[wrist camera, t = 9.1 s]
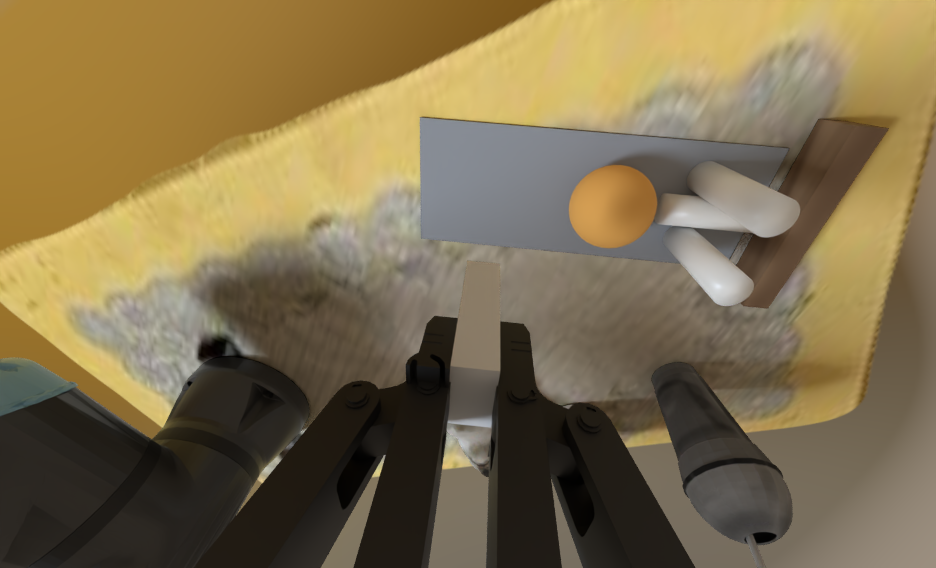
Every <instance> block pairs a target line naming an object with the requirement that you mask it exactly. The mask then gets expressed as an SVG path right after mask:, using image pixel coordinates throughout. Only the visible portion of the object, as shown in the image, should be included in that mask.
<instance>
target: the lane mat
mask: <svg viewBox="0 0 936 568" xmlns="http://www.w3.org/2000/svg"><path fill="white" fill-rule="evenodd" d="M788 150H789V148H781V147H770V146H758V145H746V144H734V143H722V142H710V141H698V140H686V139H674V138H662V137H650V136H638V135H626V134H614V133H602V132H590V131H579V130H567V129H555V128H543V127H531V126H519V125H507V124H495V123H483V122H471V121H459V120H447V119H435V118H423V117H420V172H421V239H432V240H442V241H452V242H463V243H473V244H483V245H494V246H504V247H514V248H525V249H535V250H545V251H556V252H566V253H576V254H587V255H597V256H607V257H618V258H628V259H638V260H649V261H659V262H669V263H680V262H679V261H678V260H677V259H676V258H675V256H674V255H673V254H672V253H671V252H670V251H669V250H668V248H667V247H666V246H665V245H664V243H663V236H664V234H665V232H666V231H667V230H668V229H669V228H670V227H672V225H661V224H657V223H656V222H655V220H653V222H652V224H651V225H650V227H649V228H648V230H647V231H646V232H645V233H644V234H643V235H642V236H641V237H640V238H638V239H637V240H635V241H634V242H632V243H630V244H628V245H625V246H622V247H618V248H601V247H597V246H594V245H591V244H589V243H587V242H586V241H585V240H583V239H582V238H581V237H580V236H579V235H578V234H577V233H576V231H575V230H574V228H573V227H572V224H571V221H570V217H569V203H570V199H571V196H572V193H573V191H574V189H575V187H576V186H577V185H578V183H579V182H580V181H581V180H582V179H583V178H584V177H585V176H586V175H588V174H589V173H591V172H592V171H594V170H596V169H598V168H601V167H604V166H609V165H624V166H629V167H632V168H634V169H636V170H638V171H640V172H641V173H643V174H644V175H645V176H646V177H647V178H648V179H649V180H650V182H651V183H652V185H653V187H654V189H655V192H656V197H657V205H658V202H659V200H660V197H661V195H662V194H664V193H669V194H680V195H691V196H699V195H697V194H696V193H694V192H693V191H691V190H690V189H689V188H688V186H687V177H688V175H689V173H690V171H691V170H692V169H693V168H694V167H695V166H696V165H698V164H700V163H702V162H705V161H713V162H716V163H718V164H720V165H722V166H724V167H727V168H729V169H731V170H733V171H735V172H737V173H739V174H741V175H743V176H746V177H748V178H750V179H752V180H754V181H756V182H758V183H760V184H762V185H765V186H767V187H769V185H770V183H771V182H772V180H773V178H774V176H775V174H776V172H777V171H778V169H779V167H780V165H781V163H782V161H783V160H784V158H785V156H786V154H787V152H788ZM692 228H693V227H692ZM693 229H695V230H696V231H697V232H698V233H699V234H700V235H701V236H703V237H704V238H705V239H706V240H707V241H708V242H709V243H711V244H712V245H713V246H714V247H715V248H716V249H717V250H719V251H720V252H721V253H722V254H723V255H724V256H725V257H727V258H728V259H730V257H731V255H732V253H733V252H734V250H735V248H736V246H737V244H738V242H739V241H740V239H741V237H742V235H743V233H744V232H736V231H725V230H714V229H704V228H693ZM680 264H681V263H680Z"/></svg>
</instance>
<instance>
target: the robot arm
mask: <svg viewBox="0 0 936 568" xmlns="http://www.w3.org/2000/svg"><path fill="white" fill-rule="evenodd" d="M76 386H78V385H77V384H76V383H75V382H68V381H66V380H64V379H63V378H61V377H59V376H58V375H56V374H54V373H53V372H51V371H49V370H48V369H46V368H44V367H43V366H41V365H39V364H38V363H36V362H34V361H31V360H28V359H24V358H4V359H0V568H321V566H322V564H323V563H324V561H325V559H326V557H327V555H328V554H329V552H330V550H331V548H332V546H333V545H334V543H335V541H336V539H337V538H338V536H339V534H340V532H341V530H342V529H343V527H344V525H345V523H346V521H347V520H348V518H349V516H350V514H351V513H352V511H353V509H354V507H355V506H356V504H357V502H358V500H359V498H360V497H361V495H362V493H363V491H364V490H365V488H366V486H367V484H368V482H369V481H370V479H371V477H372V475H373V474H374V472H375V470H376V468H377V466H378V465H379V463H380V461H381V459H382V458H383V455H386V456H385V460H384V463H383V467H382V470H381V474H380V477H379V481H378V484H377V488H376V491H375V495H374V498H373V502H372V506H371V509H370V513H369V516H368V519H367V523H366V526H365V529H364V533H363V537H362V540H361V543H360V547H359V550H358V554H357V558H356V561H355V564H354V568H428V565H429V558H430V550H431V543H432V536H433V529H434V522H435V514H436V507H437V500H438V492H439V486H440V479H441V471H442V464H443V457H444V450H445V443H446V431H447V423H452V424H461V425H471V426H480V427H489V428H491V425H492V430H491V439H490V445H489V451H488V457H489V487H488V489H489V490H488V522H487V558H486V568H562V565H561V557H560V549H559V541H558V532H557V524H556V516H555V508H554V500H553V491H552V483H551V479H552V482H553V484H554V487H555V490H556V493H557V496H558V499H559V501H560V504H561V507H562V509H563V513H564V515H565V518H566V521H567V524H568V527H569V529H570V532H571V535H572V538H573V541H574V543H575V546H576V549H577V552H578V555H579V557H580V560H581V563H582V566H583V568H695V566H694V564H693V563H692V561H691V559H690V558H689V556H688V554H687V552H686V551H685V549H684V547H683V546H682V544H681V542H680V540H679V539H678V537H677V535H676V533H675V531H674V530H673V528H672V526H671V524H670V523H669V521H668V519H667V518H666V516H665V514H664V512H663V511H662V509H661V507H660V505H659V504H658V502H657V500H656V498H655V497H654V495H653V493H652V491H651V490H650V488H649V486H648V485H647V483H646V481H645V479H644V478H643V476H642V474H641V472H640V471H639V469H638V467H637V466H636V464H635V462H634V460H633V458H632V457H631V455H630V453H629V451H628V450H627V448H626V446H625V444H624V443H623V441H622V439H621V438H620V436H619V434H618V432H617V431H616V429H615V427H614V425H613V424H612V422H611V420H610V419H609V418H608V416H607V415H606V414H605V413H604V412H603V411H602V410H600V409H599V408H598V407H596V406H593V405H590V404H587V403H578V404H574V405H572V406H571V407H570V408H569V409H567V408H565V407H562V406H560V405H557V404H555V403H553V402H551V401H549V400H547V399H546V398H545V397H543V395H542V394H541V393H540V392H539V390H538V389H537V387H536V383H535V376H534V367H533V358H532V349H531V341H530V333H529V331H528V330H527V328H526V327H525V326H524V324H519V323H509V322H500V264H497V263H486V262H475V261H467V266H466V273H465V279H464V285H463V291H462V297H461V303H460V309H459V316H458V318H450V317H440V316H434V317H433V318H432V319H431V320H430V321H429V322H428V323H427V326H426V329H425V333H424V336H423V340H422V344H421V347H420V351H419V353H417V354H415V355H413V356H412V357H411V358H409V360H408V361H407V363H406V381H405V382H404V383H402V384H400V385H398V386H395V387H391V388H385V389H379V390H378V388H377V387H376V385H374V384H372V383H371V382H368V381H355V382H351V383H349V384H347V385H345V386H343V387H342V388H341V389H340V390H339V391H338V392H337V393H336V394H335V395H334V397H333V398H332V399H331V400H330V402H329V403H328V404H327V405H326V406H325V408H324V409H323V410H322V411H321V413H320V414H319V415H318V416H317V417H316V419H315V420H314V421H313V422H312V424H311V425H310V426H309V427H308V428H307V430H306V431H305V432H304V433H303V435H302V436H301V437H300V438H299V439H298V441H297V442H296V443H295V444H294V446H293V447H292V448H291V449H290V450H289V452H288V453H287V454H286V455H285V457H284V458H283V459H282V460H281V461H280V463H279V464H278V465H277V466H276V468H275V469H274V470H273V471H272V472H271V474H270V475H269V476H268V477H267V479H266V480H265V481H264V482H263V483H262V485H261V486H260V487H259V488H258V490H257V491H256V492H255V493H254V494H253V496H252V497H251V498H250V499H249V501H248V502H247V503H246V504H245V505H244V507H243V508H242V509H241V511H240V512H239V513H238V511H239V509H240V508H241V506H242V504H243V502H244V501H245V499H246V497H247V495H248V494H249V492H250V490H251V488H252V487H253V485H254V483H255V482H256V480H257V478H258V477H259V475H260V473H261V472H262V471H263V469H264V468H265V467H266V466H267V465H268V464H269V463H270V462H271V461H272V460H274V459H275V458H276V457H277V456H278V455H279V454H280V453H281V452H282V451H283V450H284V449H285V448H286V447H287V446H288V445H289V444H290V442H291V441H293V440H294V439H295V438H296V437H297V436H298V435H299V433H300V432H301V430H302V428H303V426H304V425H305V423H306V421H307V419H308V417H309V405H308V402H307V400H306V398H305V396H304V394H303V393H302V392H301V390H300V389H299V388H298V387H297V386H296V385H295V384H294V383H293V382H292V381H291V380H290V379H288V378H287V377H286V376H284V375H283V374H281V373H280V372H278V371H276V370H274V369H272V368H270V367H268V366H266V365H264V364H261V363H258V362H255V361H252V360H248V359H243V358H237V357H220V358H214V359H211V360H208V361H206V362H205V363H203V364H202V365H201V366H200V367H199V368H198V369H197V370H196V371H195V372H194V373H193V374H192V375H191V376H190V377H189V378H188V379H187V381H186V382H185V384H184V386H183V389H182V392H181V393H180V395H179V397H178V399H177V401H176V403H175V405H174V407H173V409H172V411H171V413H170V415H169V417H168V419H167V421H166V423H165V425H164V427H163V428H162V429H161V431H160V432H159V433H158V434H157V435H156V436H155V437H154V438H153V439H150V438H149V437H147V436H146V435H145V434H143V433H142V432H140V431H139V430H137V429H135V428H134V427H132V426H131V425H130V424H128V423H127V422H125V421H124V420H122V419H121V418H119V417H118V416H117V415H115V414H114V413H112V412H111V411H109V410H108V409H106V408H105V407H103V406H102V405H101V404H99V403H98V402H96V401H95V400H94V399H92V398H91V397H89V396H88V395H86V394H85V393H83V392H82V391H81V390H79V389H78V388H76ZM237 513H238V514H237ZM236 514H237V515H236Z"/></svg>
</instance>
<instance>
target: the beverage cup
mask: <svg viewBox="0 0 936 568" xmlns="http://www.w3.org/2000/svg"><path fill="white" fill-rule="evenodd" d="M652 383H653V385H654V388H655V394H656V397H657V400H658V403H659V405H660V408H661V411H662V414H663V417H664V420H665V423H666V426H667V429H668V432H669V435H670V438H671V441H672V443H673V446H674V449H675V452H676V455H677V458H678V461H679V462H678V465H679V470H680V474H681V478H682V481H683V489H684V492H685V494H686V495H687V497H688V498H689V499H690V501H691V503H692V504H693V506H694V508H695V509H696V511H697V512H698V513H699V514H700V515H701V516H702V518H704V520H705V521H706V522H708V523H709V524H710V525H711V526H712V527H713V528H714V529H716V530H717V531H718V532H720V533H721V534H722V535H724V536H727V537H728V538H730V539H733V540H735V541H738V542H741V543H744V544H748V545H749V548H750V550H751V553H752V555H753V558H754V561H755V563H756V566H757V568H766V566H765V564H764V561H763V559H762V556H761V554H760V552H759V549H758V547H757V545H765V544H770V543H772V542H775V541H776V540H778V539H780V538H781V537H782V536H783V535H784V534H785V533H786V532H787V530H788V529H789V526H790V525H791V522H792V515H793V513H792V499H791V495H790V492H789V489H788V487H787V485H786V483H785V481H784V480H783V475H782V473H781V471H780V470H779V469H778V468H777V466H775V465H774V464H772V463H771V461H770V460H769V459H768V458H767V457H766V456H765V454H764V453H763V452H762V451H761V450H760V449H759V448H758V447H757V446H756V445H755V444H753V443H752V442H751V440H750V439H749V438H748V436H747V435H746V434H745V432H744V431H743V430H742V429H741V427H740V426H739V425H738V423H737V422H736V421H735V420H734V418H733V417H732V416H731V414H730V413H729V412H728V411H727V409H726V408H725V407H724V405H723V404H722V403H721V401H720V400H719V399H718V398H717V396H716V395H715V394H714V392H713V391H712V390H711V389H710V387H709V386H708V385H707V383H706V382H705V381H704V380H703V378H702V377H701V376H699V374H698V373H697V372H696V370H695V369H694V368H693V367H692V366H691V365H689V364H686V363H681V362H678V363H670V364H666V365H664V366H662V367H660V368H659V369H658V370H656V371H655V373H654V374H653V375H652Z"/></svg>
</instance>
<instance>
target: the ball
mask: <svg viewBox="0 0 936 568" xmlns="http://www.w3.org/2000/svg"><path fill="white" fill-rule="evenodd" d="M656 210H657V197H656V192H655V189H654V187H653V185H652V183H651V182H650V180H649V179H648V178H647V177H646V176H645V175H644V174H643V173H641V172H640V171H638V170H636V169H634V168H632V167H629V166H624V165H609V166H604V167H601V168H598V169H596V170H594V171H592V172H591V173H589V174H588V175H586V176H585V177H584V178H583V179H582V180H581V181H580V182H579V183H578V185H577V186H576V187H575V189H574V191H573V193H572V196H571V199H570V203H569V217H570V221H571V224H572V227H573V228H574V230H575V231H576V233H577V234H578V235H579V236H580V237H581V238H582V239H583V240H585V241H586V242H587V243H589V244H591V245H594V246H597V247H601V248H618V247H622V246H625V245H628V244H630V243H632V242H634V241H635V240H637V239H638V238H640V237H641V236H642V235H643V234H644V233H645V232H646V231H647V230H648V228H649V227H650V225H651V224H652V222H653V220H654V217H655V214H656Z"/></svg>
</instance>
